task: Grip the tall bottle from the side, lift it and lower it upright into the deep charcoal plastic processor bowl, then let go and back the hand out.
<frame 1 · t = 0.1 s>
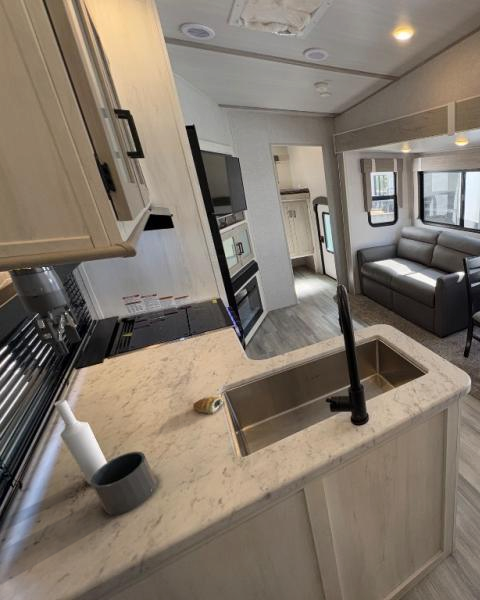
hand: (69, 348, 80), 35 cm above the worktop, tool pointing down, fingers open, 8 cm apart
bottle: (100, 477, 84), on the worktop
processor bowl: (132, 494, 78), on the worktop
pastry: (209, 408, 109), on the worktop
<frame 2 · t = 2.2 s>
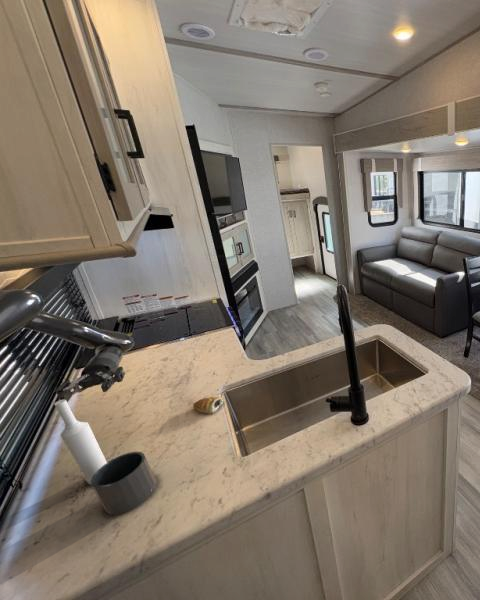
hand: (84, 394, 86), 20 cm above the worktop, tool horizontal, fingers open, 8 cm apart
nothing on the worktop moved.
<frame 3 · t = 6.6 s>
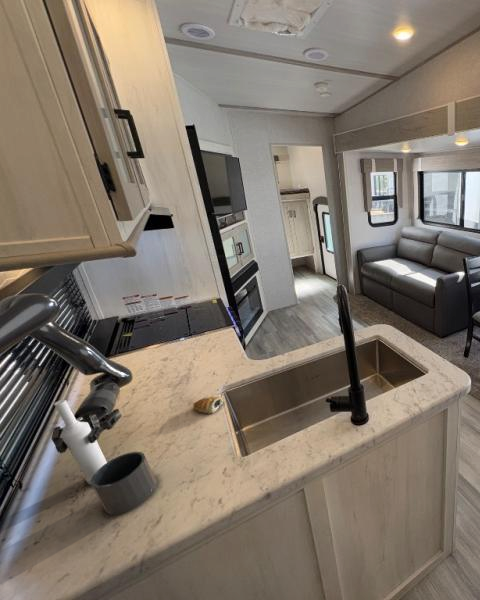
hand: (76, 444, 77), 14 cm above the worktop, tool horizontal, fingers closed on bottle, 5 cm apart
bottle: (100, 477, 84), on the worktop, touching gripper
everything else where it was.
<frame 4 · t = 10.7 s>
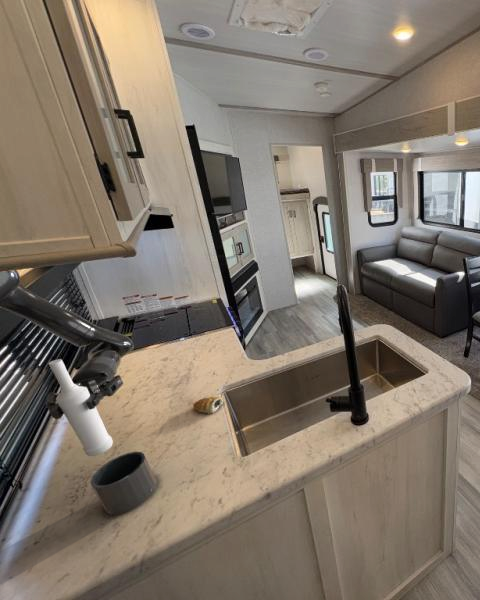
hand: (73, 410, 69), 27 cm above the worktop, tool horizontal, fingers closed on bottle, 5 cm apart
bottle: (100, 449, 76), point 13 cm above the worktop, touching gripper
everything else where it was.
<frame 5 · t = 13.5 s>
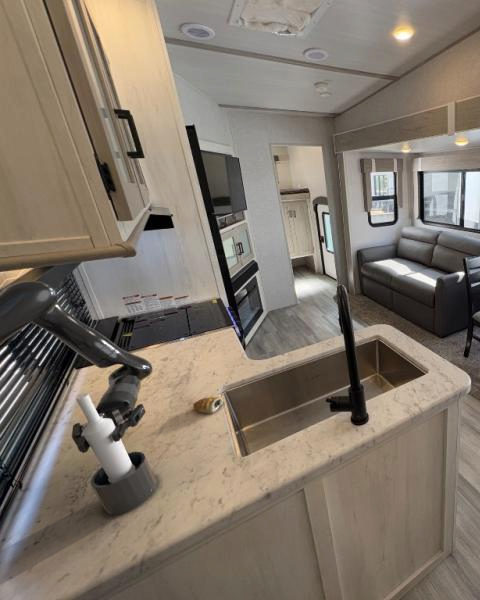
hand: (99, 443, 70), 19 cm above the worktop, tool horizontal, fingers closed on bottle, 5 cm apart
bottle: (124, 478, 77), point 5 cm above the worktop, touching gripper
everything else where it was.
when the fingers open (15 cm above the worktop, at t = 15.2 s): bottle stays where it is, resting on processor bowl.
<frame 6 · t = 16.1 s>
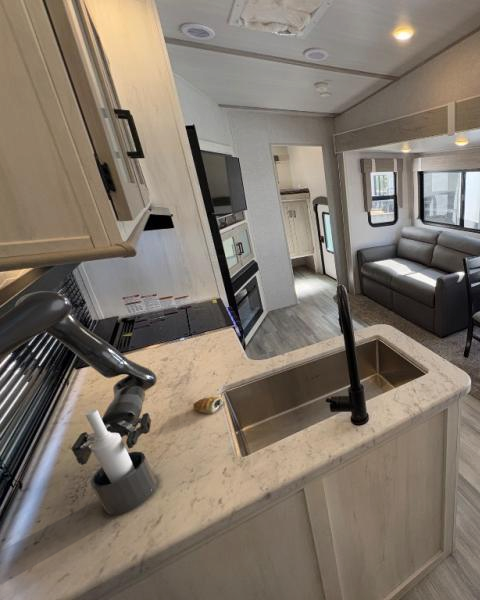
hand: (106, 453, 71), 15 cm above the worktop, tool horizontal, fingers open, 8 cm apart
bottle: (131, 491, 78), point 1 cm above the worktop, touching processor bowl
everything else where it was.
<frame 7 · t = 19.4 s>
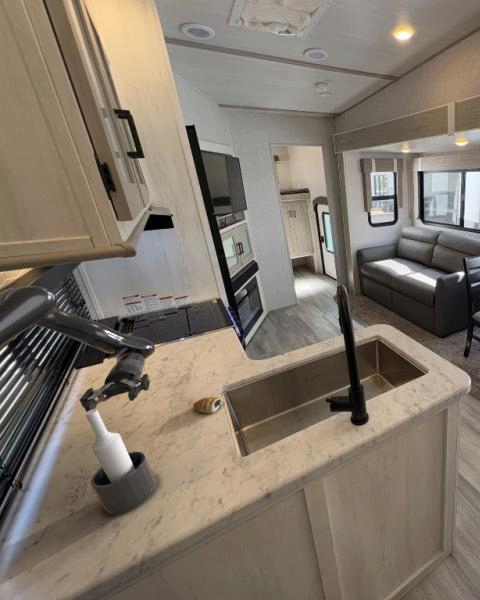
hand: (110, 403, 81), 21 cm above the worktop, tool horizontal, fingers open, 8 cm apart
nothing on the worktop moved.
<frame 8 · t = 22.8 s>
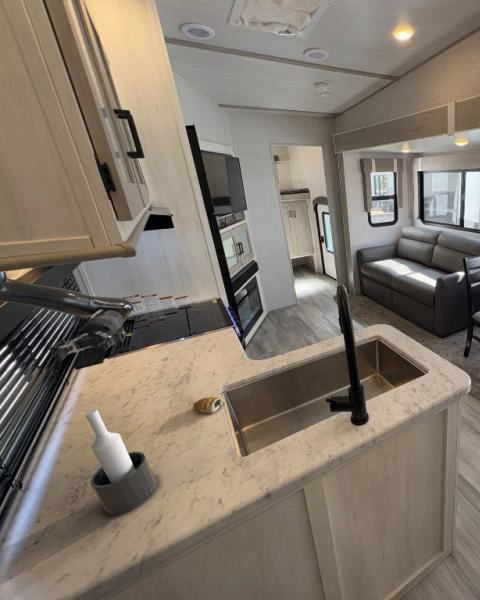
hand: (81, 352, 78), 35 cm above the worktop, tool horizontal, fingers open, 8 cm apart
nothing on the worktop moved.
at the end: bottle 0.2 cm off-centre in the processor bowl, point 0.8 cm above the processor bowl's base; bottle tilted 0°; the gripper is holding nothing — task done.
